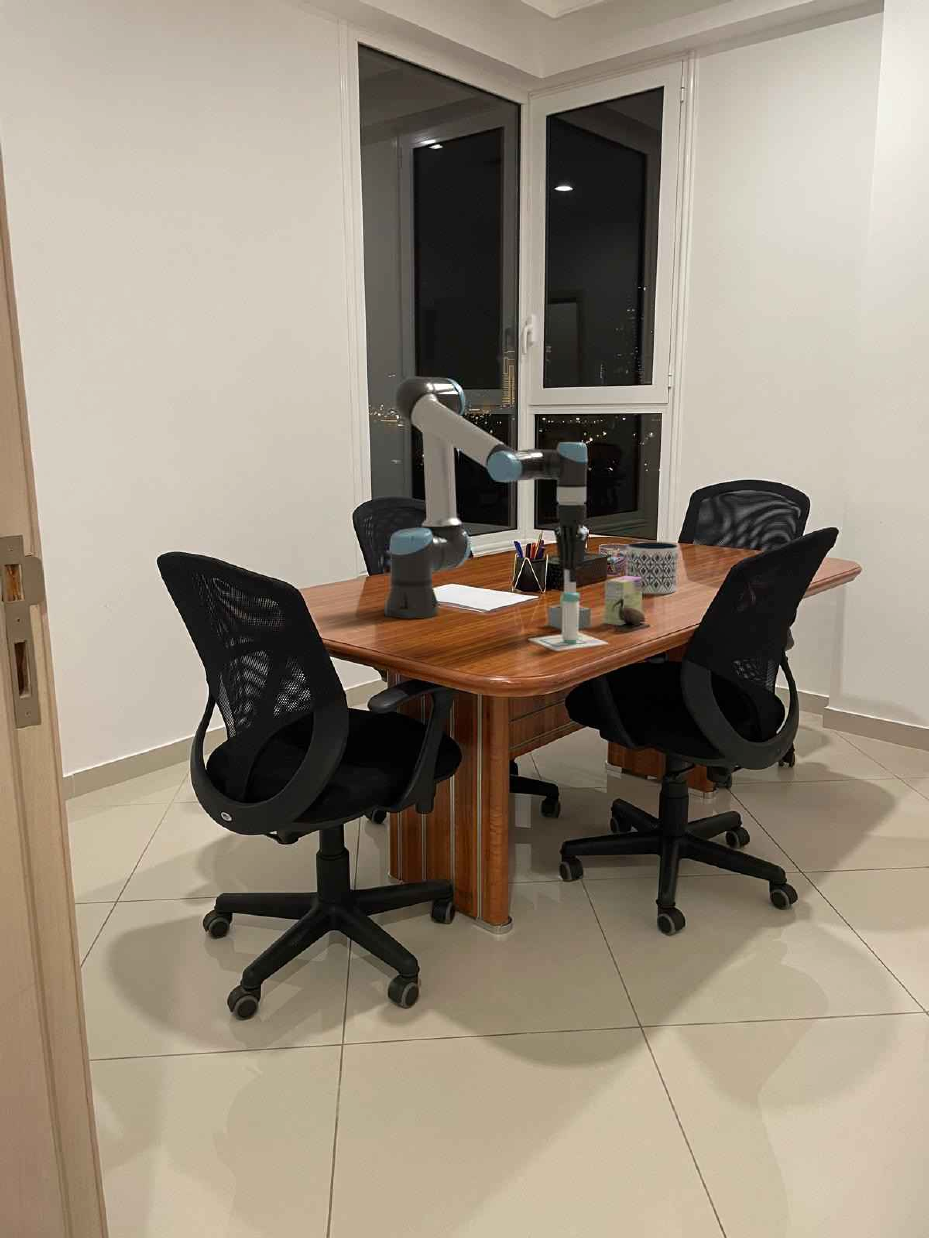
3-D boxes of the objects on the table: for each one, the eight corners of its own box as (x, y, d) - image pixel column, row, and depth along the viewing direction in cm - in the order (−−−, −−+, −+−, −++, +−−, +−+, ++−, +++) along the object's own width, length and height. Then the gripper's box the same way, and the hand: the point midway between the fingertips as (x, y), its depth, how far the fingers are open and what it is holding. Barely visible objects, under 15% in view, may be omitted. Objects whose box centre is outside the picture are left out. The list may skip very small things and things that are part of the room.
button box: (564, 630, 247) (564, 611, 246) (547, 624, 254) (548, 606, 252) (590, 627, 250) (590, 608, 249) (572, 621, 257) (573, 603, 256)
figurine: (618, 635, 242) (619, 602, 240) (604, 633, 245) (604, 600, 243) (650, 627, 251) (651, 594, 250) (636, 624, 254) (637, 592, 253)
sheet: (556, 651, 225) (556, 649, 225) (528, 639, 237) (528, 638, 237) (609, 644, 232) (609, 642, 232) (578, 633, 243) (579, 632, 243)
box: (623, 617, 263) (624, 575, 261) (641, 620, 259) (643, 577, 257) (603, 623, 255) (604, 580, 253) (622, 626, 252) (623, 582, 249)
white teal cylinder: (567, 644, 230) (568, 595, 227) (558, 641, 234) (558, 593, 231) (582, 642, 232) (583, 594, 229) (572, 639, 235) (573, 591, 233)
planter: (677, 595, 294) (679, 549, 291) (625, 594, 297) (626, 548, 294) (674, 586, 309) (676, 542, 306) (624, 585, 312) (626, 541, 309)
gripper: (598, 504, 241) (596, 596, 246) (569, 500, 252) (568, 588, 257) (573, 506, 238) (571, 599, 243) (545, 502, 249) (544, 591, 254)
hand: (570, 593), depth 250 cm, fingers closed
